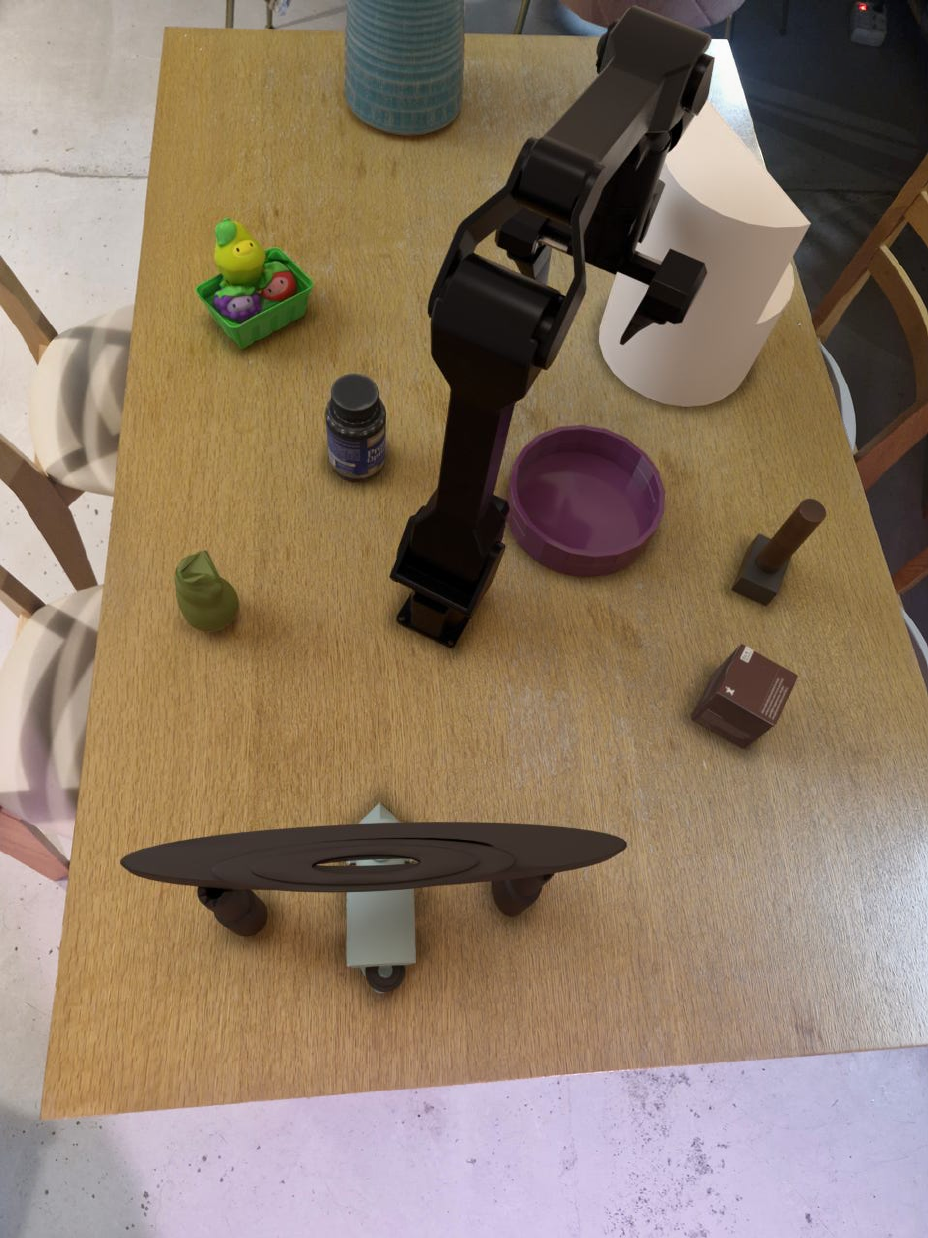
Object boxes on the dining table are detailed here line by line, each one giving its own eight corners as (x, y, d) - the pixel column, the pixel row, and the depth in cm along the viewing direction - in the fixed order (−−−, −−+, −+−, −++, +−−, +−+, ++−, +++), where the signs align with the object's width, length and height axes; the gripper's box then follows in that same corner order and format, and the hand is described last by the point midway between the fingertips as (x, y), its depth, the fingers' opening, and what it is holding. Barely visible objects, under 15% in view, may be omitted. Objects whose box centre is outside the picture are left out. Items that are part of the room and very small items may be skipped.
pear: (176, 603, 83) (152, 553, 74) (227, 581, 85) (210, 529, 76) (199, 650, 81) (177, 603, 72) (251, 626, 83) (236, 578, 74)
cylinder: (635, 420, 98) (712, 241, 76) (575, 302, 105) (629, 107, 83) (775, 389, 102) (888, 210, 80) (708, 277, 109) (794, 85, 87)
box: (743, 752, 82) (775, 728, 75) (687, 718, 83) (714, 692, 76) (767, 702, 84) (800, 675, 78) (713, 670, 85) (741, 641, 79)
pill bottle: (377, 488, 91) (377, 423, 81) (322, 476, 91) (315, 409, 81) (391, 443, 94) (392, 374, 84) (337, 431, 94) (332, 361, 84)
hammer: (766, 606, 89) (824, 543, 77) (730, 590, 90) (783, 525, 78) (782, 562, 92) (841, 495, 80) (747, 547, 92) (801, 477, 80)
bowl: (620, 602, 88) (632, 582, 84) (480, 536, 90) (484, 513, 85) (673, 488, 95) (686, 464, 90) (541, 428, 96) (548, 402, 92)
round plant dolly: (128, 736, 56) (617, 726, 59) (191, 808, 75) (559, 798, 78) (96, 997, 49) (650, 969, 53) (174, 1004, 68) (577, 983, 72)
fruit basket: (239, 362, 96) (222, 284, 86) (194, 314, 99) (173, 233, 89) (320, 317, 100) (313, 238, 90) (275, 273, 103) (264, 191, 93)
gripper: (756, 170, 72) (695, 308, 86) (558, 89, 74) (530, 236, 89) (712, 251, 68) (655, 382, 82) (503, 162, 70) (483, 305, 84)
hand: (580, 322), depth 84 cm, fingers open, 9 cm apart
